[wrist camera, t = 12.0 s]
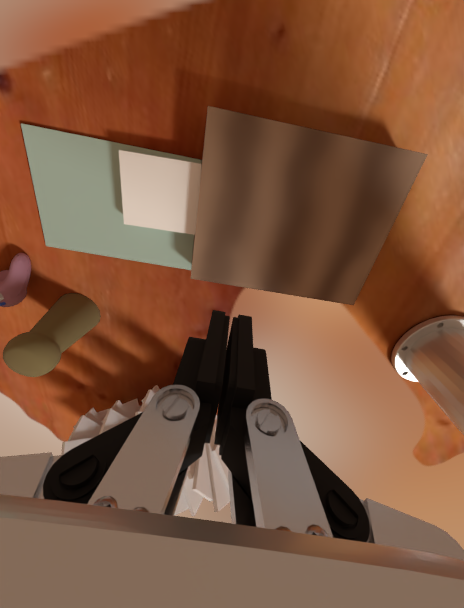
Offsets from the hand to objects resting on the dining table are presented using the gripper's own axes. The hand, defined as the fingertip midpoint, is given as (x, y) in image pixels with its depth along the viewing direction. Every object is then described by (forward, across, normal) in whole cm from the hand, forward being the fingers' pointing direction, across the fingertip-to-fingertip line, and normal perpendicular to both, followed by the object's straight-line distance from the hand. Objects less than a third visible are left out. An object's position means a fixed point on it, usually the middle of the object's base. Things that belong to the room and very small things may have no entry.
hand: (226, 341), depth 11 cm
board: (+22, -5, -3) cm, 23 cm away
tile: (+21, +9, -3) cm, 23 cm away
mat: (+21, +14, -1) cm, 25 cm away
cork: (+21, +21, +15) cm, 33 cm away
